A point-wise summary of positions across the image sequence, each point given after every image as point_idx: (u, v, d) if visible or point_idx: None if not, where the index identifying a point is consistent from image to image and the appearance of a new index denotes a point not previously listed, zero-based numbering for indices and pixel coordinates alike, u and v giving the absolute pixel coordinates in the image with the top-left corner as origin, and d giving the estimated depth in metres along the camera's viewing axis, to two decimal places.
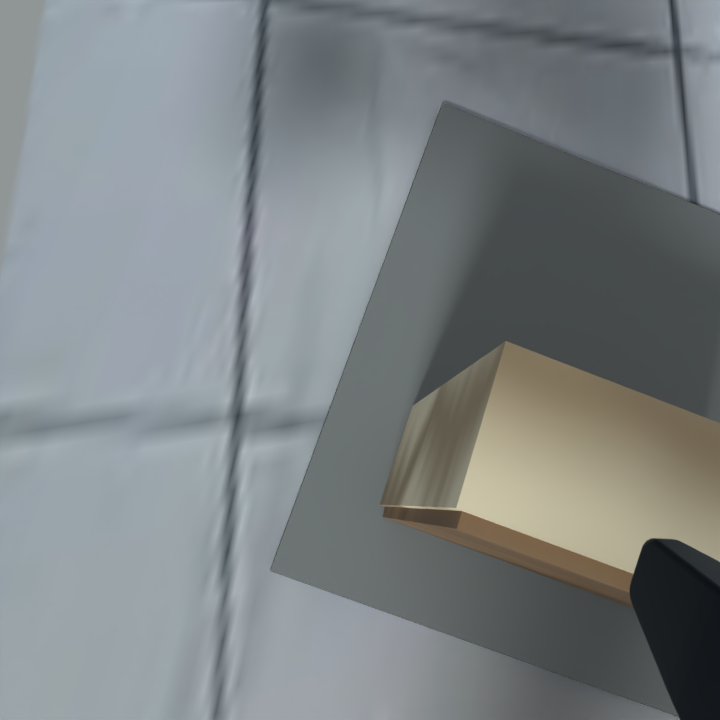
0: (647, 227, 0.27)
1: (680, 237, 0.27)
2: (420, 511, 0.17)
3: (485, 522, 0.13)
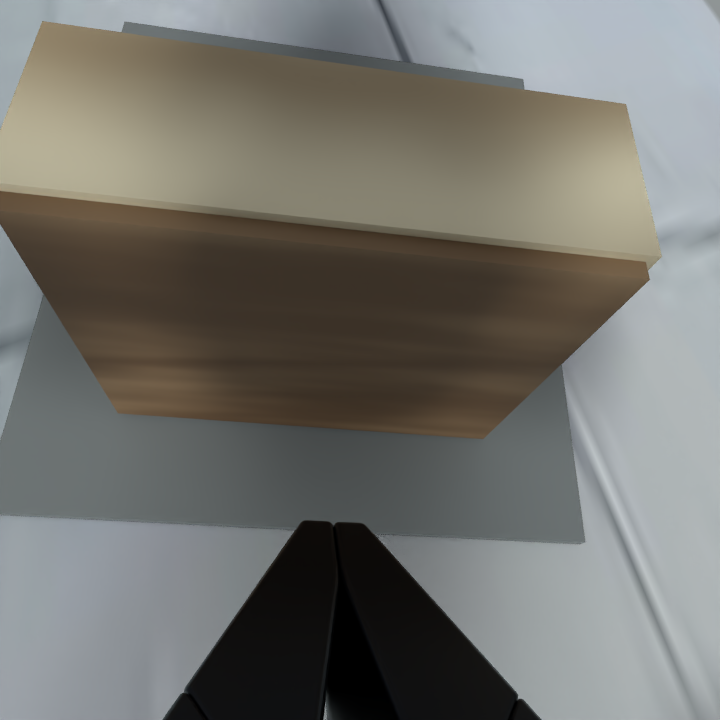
0: None
1: None
2: None
3: (30, 194, 0.10)
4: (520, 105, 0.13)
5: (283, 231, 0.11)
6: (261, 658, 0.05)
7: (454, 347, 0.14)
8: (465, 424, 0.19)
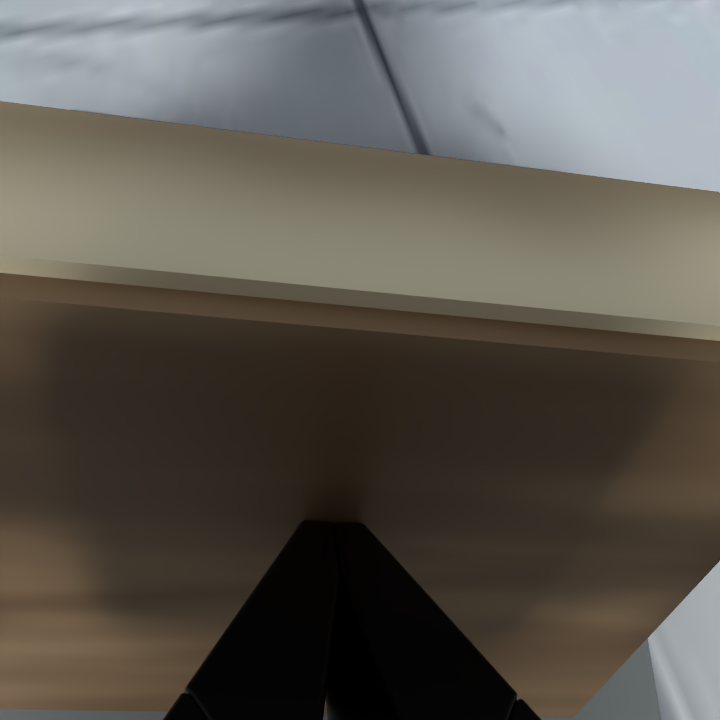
0: None
1: None
2: None
3: None
4: (588, 187, 0.09)
5: (264, 309, 0.06)
6: (261, 658, 0.05)
7: (546, 541, 0.08)
8: (549, 692, 0.12)
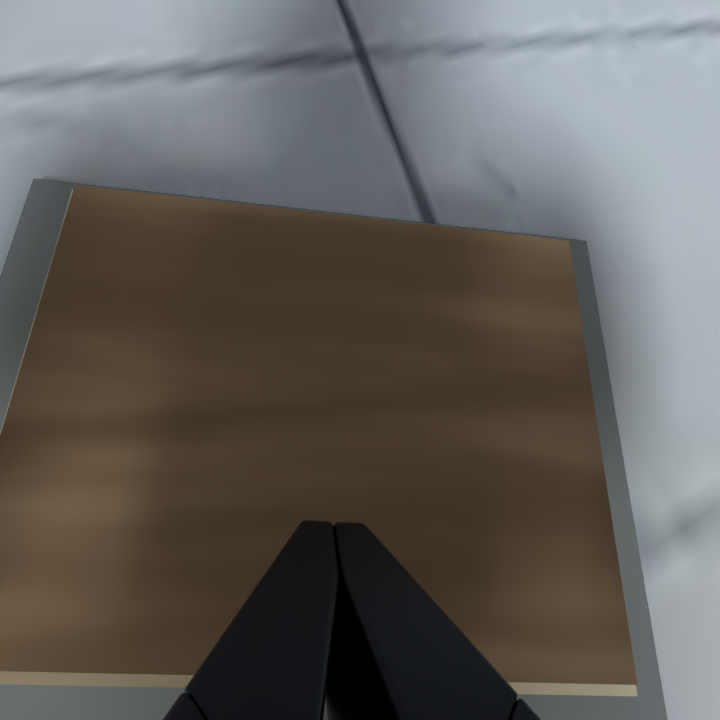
0: None
1: None
2: None
3: None
4: None
5: None
6: (261, 658, 0.05)
7: (466, 354, 0.13)
8: (576, 606, 0.11)
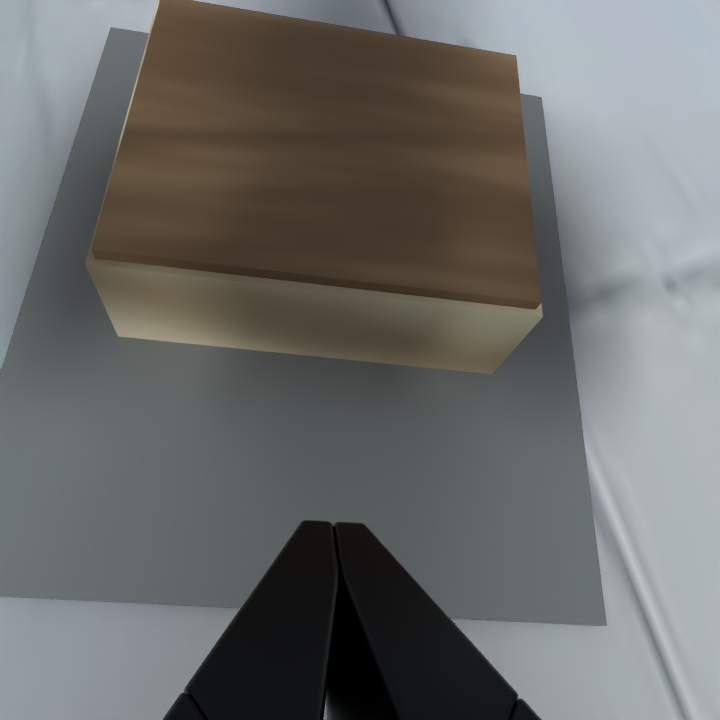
0: None
1: None
2: None
3: None
4: None
5: None
6: (261, 658, 0.05)
7: (437, 116, 0.18)
8: (504, 259, 0.17)
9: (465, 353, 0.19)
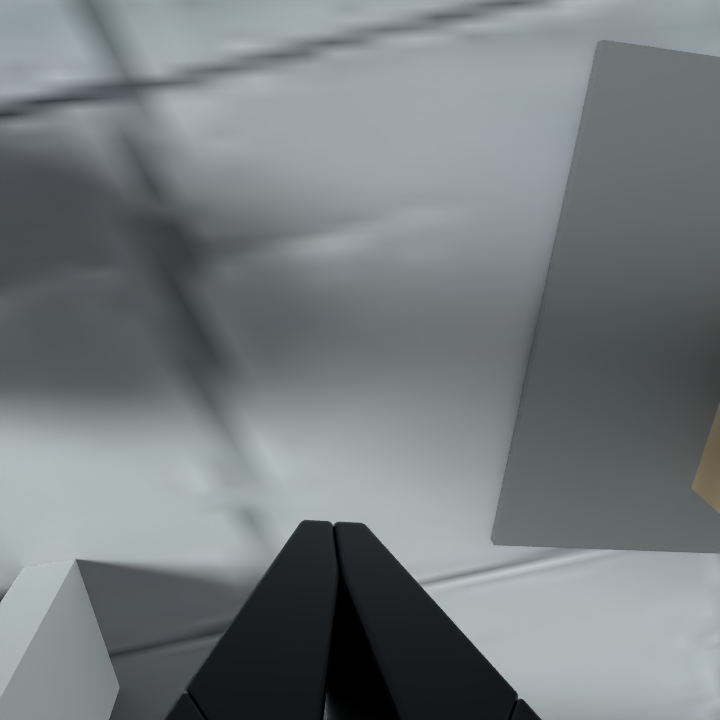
0: None
1: None
2: None
3: None
4: None
5: None
6: (261, 658, 0.05)
7: None
8: None
9: None
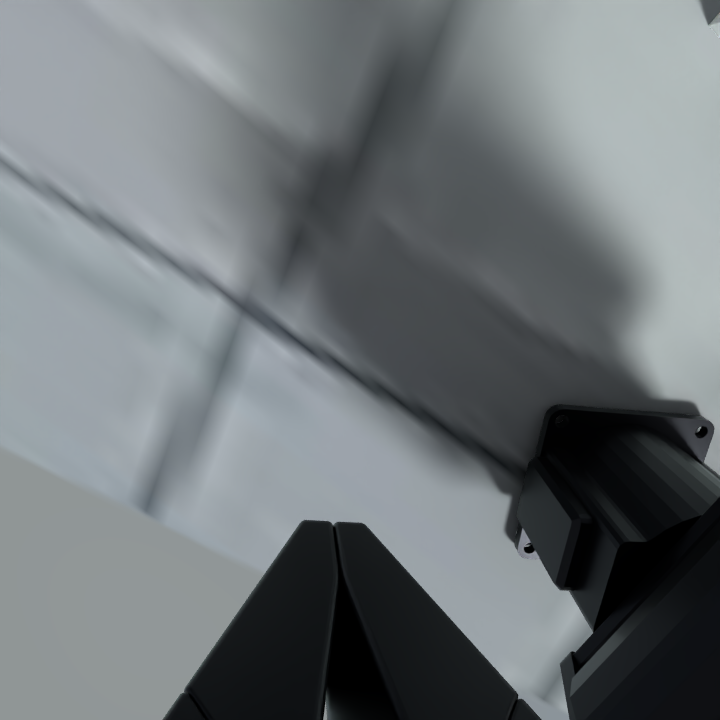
0: None
1: None
2: None
3: None
4: None
5: None
6: (261, 658, 0.05)
7: None
8: None
9: None
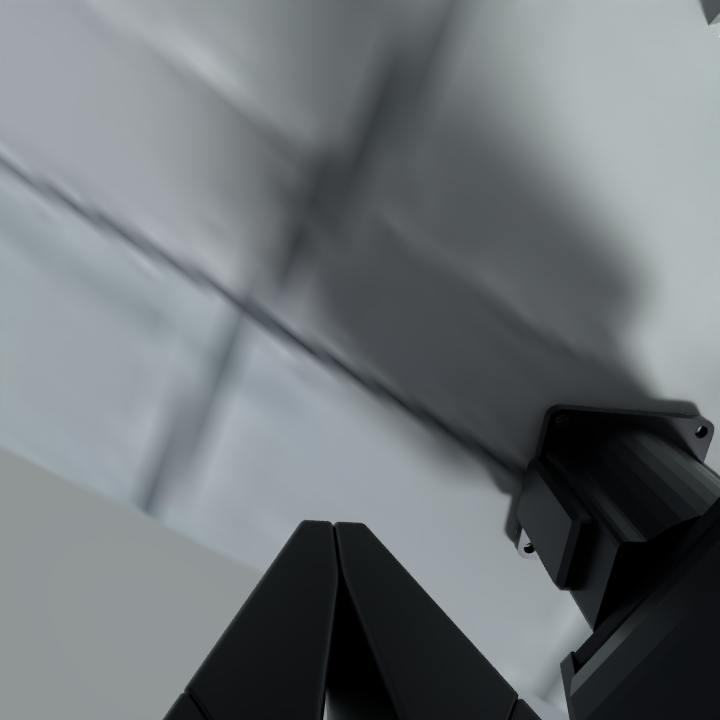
0: None
1: None
2: None
3: None
4: None
5: None
6: (261, 658, 0.05)
7: None
8: None
9: None
